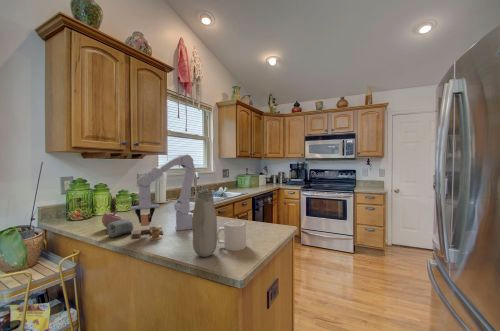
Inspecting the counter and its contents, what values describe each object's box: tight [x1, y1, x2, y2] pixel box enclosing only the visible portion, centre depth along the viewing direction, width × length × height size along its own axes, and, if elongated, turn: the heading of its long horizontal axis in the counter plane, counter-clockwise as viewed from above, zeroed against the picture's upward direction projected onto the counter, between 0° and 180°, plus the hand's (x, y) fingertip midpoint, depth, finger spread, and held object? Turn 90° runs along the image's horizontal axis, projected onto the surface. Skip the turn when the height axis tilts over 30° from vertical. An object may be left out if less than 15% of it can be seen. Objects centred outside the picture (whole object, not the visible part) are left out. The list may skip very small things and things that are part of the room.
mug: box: [217, 220, 247, 252], centre depth 110 cm, size 14×10×11 cm
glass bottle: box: [192, 188, 218, 258], centre depth 100 cm, size 10×10×28 cm
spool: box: [105, 218, 134, 238], centre depth 130 cm, size 14×10×10 cm
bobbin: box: [148, 224, 163, 241], centre depth 124 cm, size 6×6×6 cm
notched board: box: [131, 227, 164, 239], centre depth 130 cm, size 15×7×2 cm, turn 113°
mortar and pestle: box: [101, 209, 126, 228], centre depth 142 cm, size 12×12×11 cm
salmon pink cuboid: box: [140, 212, 151, 227], centre depth 129 cm, size 4×4×6 cm
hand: (145, 222), depth 129 cm, fingers closed on salmon pink cuboid, 4 cm apart
